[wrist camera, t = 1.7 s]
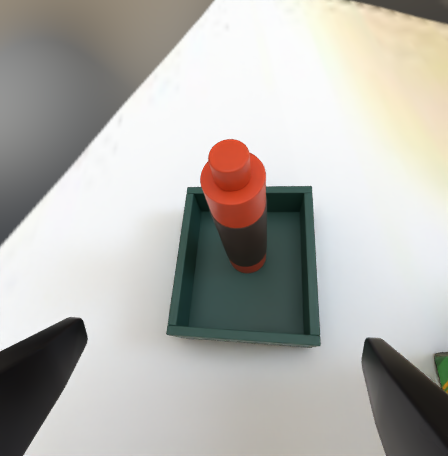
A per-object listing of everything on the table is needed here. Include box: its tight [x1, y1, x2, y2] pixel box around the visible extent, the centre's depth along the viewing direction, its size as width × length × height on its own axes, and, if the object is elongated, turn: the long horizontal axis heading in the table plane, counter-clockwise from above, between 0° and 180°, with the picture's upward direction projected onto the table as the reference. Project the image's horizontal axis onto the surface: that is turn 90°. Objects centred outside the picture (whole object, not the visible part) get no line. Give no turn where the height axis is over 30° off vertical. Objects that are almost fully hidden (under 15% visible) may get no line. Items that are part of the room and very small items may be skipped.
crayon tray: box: [166, 186, 321, 348], centre depth 22 cm, size 11×10×4 cm
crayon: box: [200, 139, 267, 273], centre depth 18 cm, size 3×3×13 cm
